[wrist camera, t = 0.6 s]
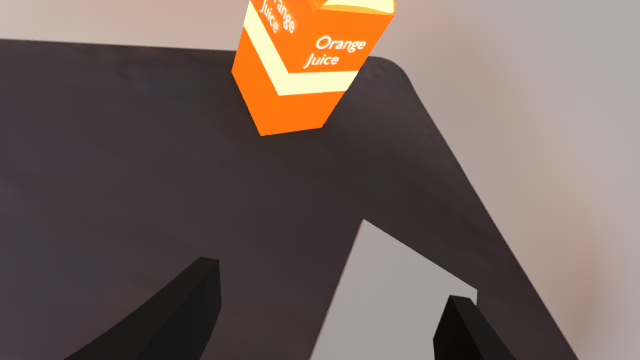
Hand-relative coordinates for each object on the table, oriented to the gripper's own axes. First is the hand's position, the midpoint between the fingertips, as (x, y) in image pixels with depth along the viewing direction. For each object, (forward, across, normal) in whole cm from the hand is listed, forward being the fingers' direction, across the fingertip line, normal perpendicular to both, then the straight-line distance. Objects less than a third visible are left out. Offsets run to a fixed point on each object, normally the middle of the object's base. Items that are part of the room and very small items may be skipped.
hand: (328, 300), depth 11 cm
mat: (+14, -7, +16) cm, 23 cm away
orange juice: (+29, +8, +2) cm, 30 cm away
